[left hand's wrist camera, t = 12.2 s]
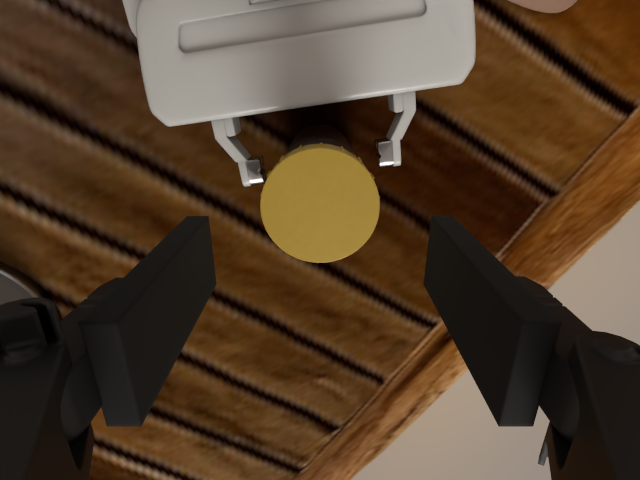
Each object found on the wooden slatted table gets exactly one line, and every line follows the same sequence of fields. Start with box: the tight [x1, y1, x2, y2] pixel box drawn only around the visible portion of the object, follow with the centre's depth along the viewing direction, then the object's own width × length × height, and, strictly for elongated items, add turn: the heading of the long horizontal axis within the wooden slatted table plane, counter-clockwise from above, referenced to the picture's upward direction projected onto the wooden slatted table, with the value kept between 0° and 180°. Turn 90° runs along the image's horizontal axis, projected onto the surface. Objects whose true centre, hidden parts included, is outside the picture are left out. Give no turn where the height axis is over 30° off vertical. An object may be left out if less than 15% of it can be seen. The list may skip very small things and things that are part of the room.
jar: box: [285, 124, 355, 155], centre depth 26 cm, size 5×5×15 cm
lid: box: [260, 142, 380, 263], centre depth 19 cm, size 6×6×2 cm
